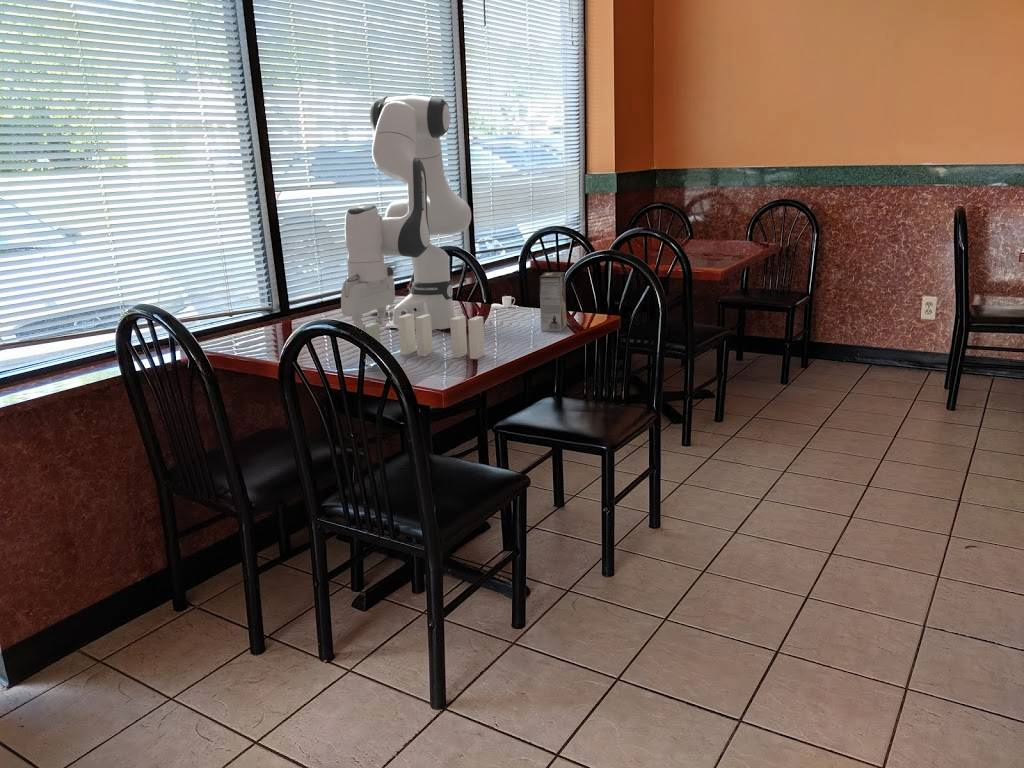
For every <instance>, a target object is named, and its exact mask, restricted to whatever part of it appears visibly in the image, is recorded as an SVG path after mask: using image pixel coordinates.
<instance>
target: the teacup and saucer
mask: <svg viewBox="0 0 1024 768" xmlns="http://www.w3.org/2000/svg"><path fill="white" fill-rule="evenodd" d="M501 298H502V299H501V300H502V304H500V303H492V305H491V307H492V308H493V309H496V310H502V311H503V310H504V311H507V310H508V311H510V310H509V309H510V308H512V307H515V308H517V307H519V306H518V305H514V304H515V301H516V299H515V297H512V296H511V295H509V296H508V295H504V296H502V297H501ZM513 299H514V300H513ZM512 300H513V303H512ZM507 307H510V308H507Z"/></svg>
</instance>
